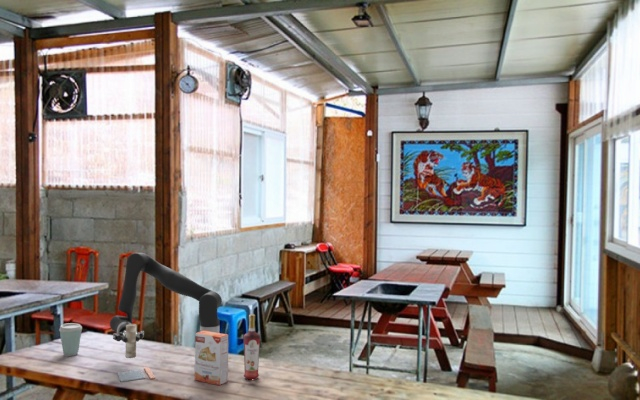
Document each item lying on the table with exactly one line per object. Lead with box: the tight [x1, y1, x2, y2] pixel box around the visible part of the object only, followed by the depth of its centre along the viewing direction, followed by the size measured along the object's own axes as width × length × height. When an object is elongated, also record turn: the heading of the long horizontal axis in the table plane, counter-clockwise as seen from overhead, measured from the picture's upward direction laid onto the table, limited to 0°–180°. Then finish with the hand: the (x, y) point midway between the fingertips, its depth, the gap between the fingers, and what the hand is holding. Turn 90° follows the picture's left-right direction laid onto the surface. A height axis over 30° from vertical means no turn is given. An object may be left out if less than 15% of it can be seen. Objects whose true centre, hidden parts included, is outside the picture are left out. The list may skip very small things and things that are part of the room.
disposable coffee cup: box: [58, 322, 83, 357], centre depth 268 cm, size 11×11×15 cm
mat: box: [116, 369, 146, 383], centre depth 236 cm, size 10×12×1 cm
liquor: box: [243, 314, 261, 381], centre depth 235 cm, size 7×7×28 cm
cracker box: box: [194, 331, 229, 386], centre depth 231 cm, size 14×6×21 cm, turn 62°
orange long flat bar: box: [143, 366, 156, 380], centre depth 240 cm, size 2×16×1 cm, turn 28°
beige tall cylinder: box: [125, 323, 137, 359], centre depth 236 cm, size 4×4×14 cm
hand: (131, 339), depth 234 cm, fingers closed on beige tall cylinder, 4 cm apart
